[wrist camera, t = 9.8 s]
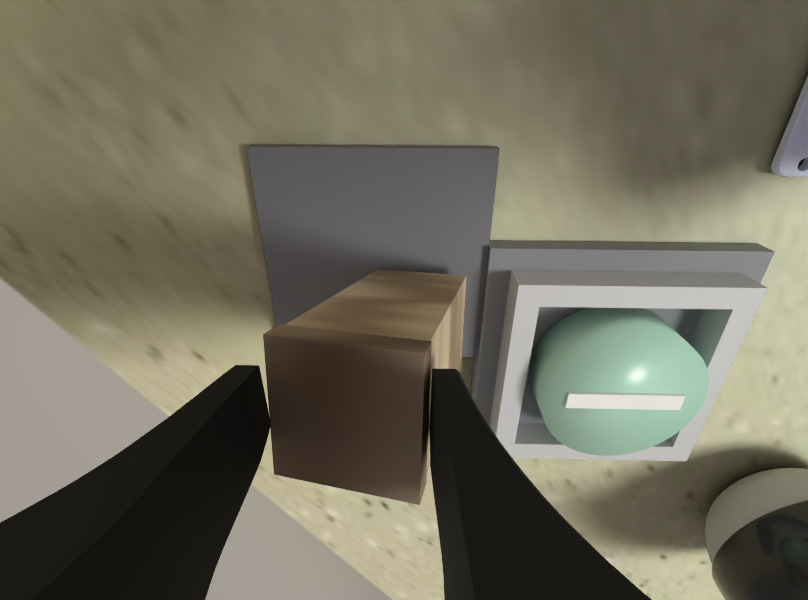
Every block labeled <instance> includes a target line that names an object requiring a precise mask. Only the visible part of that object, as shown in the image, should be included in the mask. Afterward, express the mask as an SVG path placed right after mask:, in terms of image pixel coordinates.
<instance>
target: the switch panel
mask: <svg viewBox="0 0 808 600" xmlns="http://www.w3.org/2000/svg"><path fill="white" fill-rule="evenodd" d="M773 254H774V251H772V250H770V249H768V248H766V247H764V246H762V245H759V244H757V243H668V242H576V241H490V242H489V251H488V260H487V270H486V279H485V288H484V298H483V307H482V316H481V326H480V335H479V344H478V354H477V357H475V361H474V370H473V380H472V389H471V396H472V398H473V400H474V402H475V403H476V405H477V407H478V409H479V410H480V412H481V413H482V415H483V417H484V418H485V420H486V421H487V423H488V424H489V426H490V427H491V429H492V430H493V432H494V434H495V435H496V436H497V438H498V439H499V441H500V442H501V444H502V445H503V446H504V448H505V449H506V450H507V452H508V453H509V454H510V456H511V457H512V458H556V459H604V460H653V461H687V459H688V457H689V455H690V453H691V451H692V448H693V446H694V444H695V442H696V440H697V438H698V436H699V434H700V431H701V429H702V427H703V425H704V423H705V421H706V419H707V417H708V414H709V412H710V410H711V408H712V406H713V404H714V402H715V400H716V397H717V395H718V393H719V391H720V389H721V387H722V385H723V382H724V380H725V378H726V376H727V374H728V372H729V370H730V368H731V365H732V363H733V361H734V359H735V357H736V355H737V353H738V351H739V348H740V346H741V344H742V342H743V340H744V338H745V336H746V334H747V331H748V329H749V327H750V325H751V323H752V321H753V319H754V317H755V314H756V312H757V310H758V308H759V306H760V304H761V302H762V300H763V297H764V295H765V293H766V291H767V289H768V288H767V287H765V286H763V285H761V284H760V283H761V281H762V278H763V276H764V274H765V272H766V270H767V267H768V265H769V263H770V261H771V259H772V256H773ZM587 307H591V308H647V309H649V310H651V311H653V312H655V313H656V314H657V315H659V316H660V317H661V318H662V319H663V320H664V321H665V322H667V323H668V324H669V325H670V326H671V327H672V328H673V329H674V330H675V331H676V332H677V333H678V334H679V335H680V336H681V337H682V338H683V339H684V340H685V341H687V342H688V343H689V344H690V345H691V346H692V347H693V348H694V349H695V350H696V351H697V352H698V353H699V354H700V356H701V357H702V359H703V360H704V362H705V365H706V367H707V371H708V376H709V385H708V390H707V394H706V397H705V400H704V402H703V404H702V406H701V408H700V409H699V411H698V412H697V414H696V415H695V416H694V418H693V419H692V420H691V421H690V422H689V423H688V424H687V425H686V426H685V427H684V428H682V429H681V430H680V431H679V432H677V433H676V434H675V435H673V436H672V437H670V438H668V439H667V440H665V441H663V442H661V443H659V444H657V445H655V446H653V447H650V448H647V449H645V450H641V451H638V452H634V453H629V454H624V455H615V456H599V455H591V454H585V453H582V452H578V451H576V450H573V449H571V448H569V447H567V446H565V445H563V444H562V443H561V442H559V441H558V440H557V439H556V438H555V437H554V436H553V435H552V434H551V433H550V431H549V430H548V428H547V426H546V424H545V422H544V419H543V416H542V414H541V411H540V409H539V406H538V403H537V401H536V398H535V396H534V393H533V390H532V388H531V385H530V381H529V373H528V370H529V363H530V359H531V356H532V353H533V351H534V349H535V347H536V345H537V344H538V342H539V341H540V339H541V338H542V337H543V335H544V334H545V333H546V332H547V331H548V330H549V329H550V328H551V327H553V326H554V325H555V324H556V323H558V322H559V321H560V320H562V319H563V318H565V317H567V316H568V315H570V314H572V313H574V312H576V311H579V310H582V309H584V308H587Z"/></svg>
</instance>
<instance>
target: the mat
mask: <svg viewBox="0 0 808 600" xmlns="http://www.w3.org/2000/svg"><path fill="white" fill-rule="evenodd" d="M246 149H247V155H248V161H249V167H250V173H251V179H252V185H253V191H254V197H255V203H256V208H257V214H258V220H259V226H260V232H261V238H262V244H263V250H264V256H265V262H266V268H267V274H268V280H269V286H270V292H271V298H272V304H273V310H274V316H275V322H276V327H277V326H278V325H280V324H282V325H285V324H287V323H289V322H290V321H292V320H294V319H295V318H297V317H299V316H300V315H302V314H304V313H305V312H307V311H309V310H310V309H312V308H314V307H315V306H317V305H319V304H321V303H322V302H324V301H326V300H327V299H329V298H331V297H332V296H334V295H336V294H337V293H339V292H341V291H342V290H344V289H346V288H347V287H349V286H351V285H352V284H354V283H356V282H358V281H359V280H361V279H363V278H364V277H366V276H368V275H369V274H371V273H373V272H374V271H376V270H378V269H381V270H395V271H409V272H423V273H438V274H452V275H466V291H465V308H464V324H463V340H462V357H477V354H478V344H479V335H480V326H481V316H482V307H483V298H484V288H485V279H486V270H487V260H488V251H489V242H490V232H491V223H492V213H493V204H494V195H495V185H496V176H497V167H498V157H499V148H498V147H490V146H342V145H250V146H247V147H246Z"/></svg>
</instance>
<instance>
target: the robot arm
mask: <svg viewBox="0 0 808 600" xmlns="http://www.w3.org/2000/svg"><path fill="white" fill-rule="evenodd" d="M802 159H804V162H803V164H802V165H801V166H800V167H799V168H797V167H798V164H799V162H800V161H801V160H802ZM771 169H772V172H773V173H774V174H775V175H779V176H784V177H808V76H807V79H806V81H805V84H804V86H803V89H802V91H801V94H800V96H799V98H798V101H797V103H796V106H795V108H794V111H793V113H792V116H791V118H790V120H789V123H788V125H787V128H786V130H785V133H784V135H783V138H782V140H781V142H780V145H779V147H778V150H777V152H776V155H775V157H774V159H773V162H772V166H771ZM269 430H270V418H269V413H268V408H267V403H266V398H265V393H264V388H263V383H262V378H261V373H260V368H259V366H250V365H235V366H234V367H233V368H231V369H230V370H228V371H227V372H226V373H225V374H223V375H222V376H221V377H219V378H218V379H217V380H216V381H214V382H213V383H212V384H211V385H209V386H208V387H207V388H206V389H204V390H203V391H202V392H201V393H199V394H198V395H197V396H195V397H194V398H193V399H192V400H190V401H189V402H188V403H186V404H185V405H184V406H183V407H181V408H180V409H179V410H177V411H176V412H175V413H174V414H172V415H171V416H170V417H168V418H167V419H166V420H164V421H163V422H162V423H160V424H159V425H157V426H156V427H155V428H153V429H152V430H150V431H149V432H148V433H146V434H145V435H144V436H142V437H141V438H139V439H138V440H137V441H135V442H134V443H132V444H131V445H130V446H128V447H127V448H125V449H124V450H123V451H121V452H120V453H118V454H117V455H115V456H114V457H112V458H111V459H109V460H107V461H106V462H104V463H103V464H101V465H100V466H98V467H97V468H95V469H93V470H92V471H90V472H88V473H87V474H85V475H84V476H82V477H80V478H79V479H77V480H76V481H74V482H72V483H71V484H69V485H67V486H66V487H64V488H62V489H60V490H59V491H57V492H55V493H53V494H52V495H50V496H48V497H46V498H44V499H43V500H41V501H39V502H37V503H35V504H34V505H32V506H30V507H28V508H26V509H25V510H23V511H21V512H19V513H17V514H16V515H14V516H12V517H10V518H8V519H6V520H5V521H3V522H1V523H0V600H205V598H206V595H207V592H208V589H209V585H210V583H211V580H212V577H213V574H214V571H215V568H216V565H217V563H218V560H219V558H220V555H221V553H222V550H223V548H224V545H225V543H226V540H227V538H228V536H229V534H230V531H231V529H232V526H233V524H234V522H235V520H236V517H237V515H238V513H239V511H240V508H241V506H242V504H243V501H244V499H245V497H246V494H247V492H248V490H249V487H250V485H251V483H252V480H253V478H254V476H255V473H256V471H257V469H258V466H259V464H260V461H261V458H262V455H263V451H264V448H265V445H266V441H267V437H268V434H269ZM429 431H430V466H431V474H432V482H433V490H434V498H435V506H436V514H437V521H438V529H439V537H440V545H441V553H442V563H443V574H444V594H445V600H651V599H650V598H649V597H648V596H647V595H645V594H644V593H643V592H642V591H640V590H639V589H638V588H637V587H636V586H635V585H634V584H633V583H631V582H630V581H629V580H628V579H627V578H626V577H625V576H624V575H622V574H621V573H620V572H619V571H618V570H617V569H616V568H615V567H614V566H612V565H611V564H610V563H609V562H608V561H607V560H606V559H605V558H604V557H603V556H602V555H601V554H600V553H599V552H598V551H597V550H596V549H595V548H593V547H592V546H591V545H590V544H589V543H588V542H587V541H586V540H585V539H584V538H583V537H582V536H581V535H580V534H579V533H578V532H577V531H576V530H575V529H574V528H573V527H572V526H571V525H570V524H569V523H568V522H567V521H566V520H565V519H564V518H563V517H562V516H561V515H560V514H559V513H558V512H557V510H556V509H555V508H554V507H553V506H552V505H551V504H550V503H549V502H548V501H547V500H546V498H545V497H544V496H543V495H542V494H541V493H540V492H539V490H538V489H537V488H536V487H535V486H534V485H533V483H532V482H531V481H530V480H529V479H528V478H527V476H526V475H525V474H524V473H523V471H522V470H521V469H520V468H519V466H518V465H517V464H516V462H515V461H514V460H513V459H512V457H511V456H510V454H509V453H508V452H507V450H506V449H505V448H504V446H503V445H502V444H501V442H500V441H499V439H498V438H497V436H496V435H495V434H494V432H493V430H492V429H491V427H490V426H489V424H488V423H487V421H486V420H485V418H484V417H483V415H482V413H481V412H480V410H479V409H478V407H477V405H476V403H475V402H474V400H473V398H472V396H471V395H470V393H469V391H468V389H467V387H466V385H465V383H464V381H463V379H462V377H461V374H460V372H459V371H458V370H457V369H435V368H432V381H431V403H430V426H429Z"/></svg>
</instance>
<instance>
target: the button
mask: <svg viewBox="0 0 808 600" xmlns="http://www.w3.org/2000/svg"><path fill="white" fill-rule="evenodd" d="M528 373H529V381H530V385H531V388H532V390H533V393H534V396H535V398H536V401H537V403H538V406H539V409H540V411H541V414H542V416H543V419H544V422H545V424H546V426H547V428H548V430H549V431H550V433H551V434H552V435H553V436H554V437H555V438H556V439H557V440H558V441H559V442H561V443H562V444H563V445H565V446H567V447H569V448H571V449H573V450H576V451H578V452H582V453H585V454H591V455H599V456H615V455H624V454H629V453H634V452H638V451H641V450H645V449H647V448H650V447H653V446H655V445H657V444H659V443H661V442H663V441H665V440H667V439H668V438H670V437H672V436H673V435H675V434H676V433H677V432H679V431H680V430H681V429H682V428H684V427H685V426H686V425H687V424H688V423H689V422H690V421H691V420H692V419H693V418H694V416H695V415H696V414H697V412H698V411H699V409H700V408H701V406H702V404H703V402H704V400H705V397H706V394H707V390H708V385H709V376H708V371H707V367H706V365H705V362H704V360H703V359H702V357H701V356H700V354H699V353H698V352H697V351H696V350H695V349H694V348H693V347H692V346H691V345H690V344H689V343H688V342H687V341H685V340H684V339H683V338H682V337H681V336H680V335H679V334H678V333H677V332H676V331H675V330H674V329H673V328H672V327H671V326H670V325H669V324H668V323H667V322H665V321H664V320H663V319H662V318H661V317H660V316H659V315H657V314H656V313H655V312H653V311H651V310H649V309H647V308H591V307H587V308H584V309H582V310H579V311H576V312H574V313H572V314H570V315H568V316H567V317H565V318H563V319H562V320H560V321H559V322H558V323H556V324H555V325H554V326H553V327H551V328H550V329H549V330H548V331H547V332H546V333H545V334H544V335H543V337H542V338H541V339H540V341H539V342H538V344H537V345H536V347H535V349H534V351H533V353H532V356H531V359H530V363H529V370H528Z"/></svg>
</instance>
